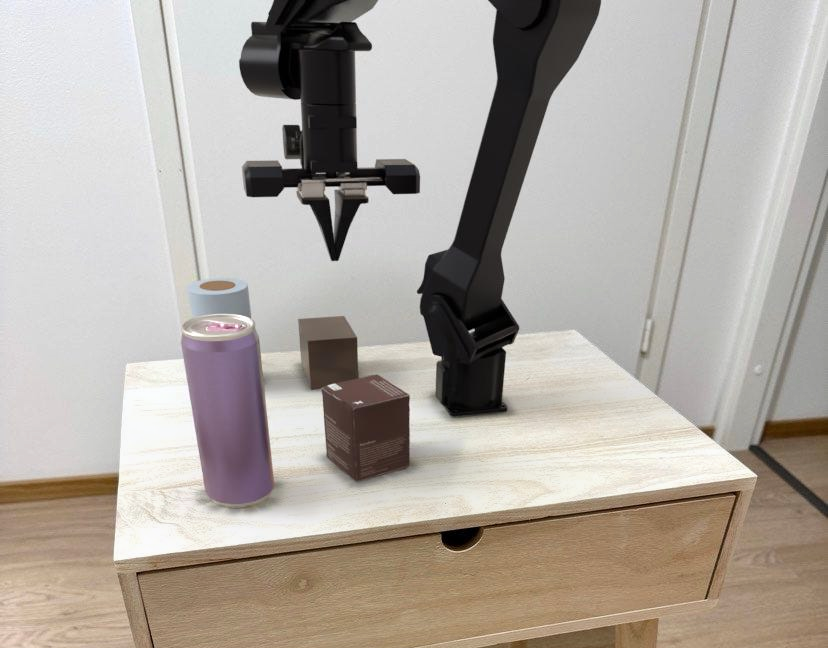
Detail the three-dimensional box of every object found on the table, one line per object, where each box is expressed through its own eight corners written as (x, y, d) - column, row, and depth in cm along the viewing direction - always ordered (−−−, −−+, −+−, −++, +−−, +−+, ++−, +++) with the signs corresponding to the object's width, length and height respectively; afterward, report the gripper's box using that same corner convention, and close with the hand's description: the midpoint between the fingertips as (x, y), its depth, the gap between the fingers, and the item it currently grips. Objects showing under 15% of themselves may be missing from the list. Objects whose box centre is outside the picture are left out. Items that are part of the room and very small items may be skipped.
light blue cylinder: (296, 321, 89) (211, 248, 82) (305, 338, 84) (216, 262, 77) (231, 397, 92) (143, 333, 85) (236, 418, 87) (143, 352, 80)
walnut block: (346, 361, 94) (344, 315, 91) (358, 385, 87) (357, 337, 84) (301, 364, 93) (297, 318, 89) (310, 389, 86) (307, 340, 83)
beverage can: (260, 514, 64) (239, 340, 55) (194, 506, 65) (164, 333, 56) (284, 480, 69) (268, 315, 60) (222, 473, 70) (198, 310, 61)
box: (411, 468, 71) (412, 394, 67) (354, 484, 68) (352, 408, 64) (378, 443, 75) (377, 372, 71) (324, 457, 72) (320, 385, 68)
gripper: (398, 97, 86) (397, 241, 95) (232, 96, 82) (247, 247, 91) (423, 106, 78) (419, 263, 86) (238, 105, 74) (254, 270, 82)
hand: (334, 260), depth 87 cm, fingers closed
